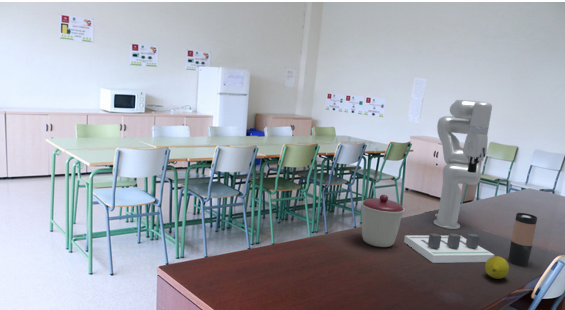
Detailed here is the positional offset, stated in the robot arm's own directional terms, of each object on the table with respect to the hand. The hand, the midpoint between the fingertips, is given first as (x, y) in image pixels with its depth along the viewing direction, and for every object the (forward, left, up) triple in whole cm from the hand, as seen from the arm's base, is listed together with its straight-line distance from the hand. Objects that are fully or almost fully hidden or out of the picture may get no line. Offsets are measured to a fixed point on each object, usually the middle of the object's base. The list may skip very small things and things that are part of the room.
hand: (471, 172), depth 199 cm
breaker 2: (+15, -15, -29) cm, 36 cm away
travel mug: (+24, +10, -32) cm, 41 cm away
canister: (+2, -42, -32) cm, 53 cm away
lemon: (+37, -12, -32) cm, 51 cm away
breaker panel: (+12, -15, -32) cm, 37 cm away
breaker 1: (+15, -24, -29) cm, 40 cm away
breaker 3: (+15, -6, -29) cm, 33 cm away
